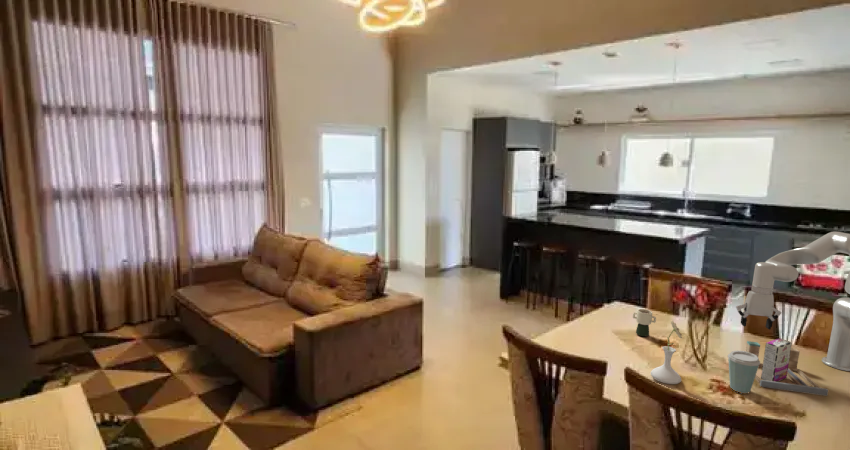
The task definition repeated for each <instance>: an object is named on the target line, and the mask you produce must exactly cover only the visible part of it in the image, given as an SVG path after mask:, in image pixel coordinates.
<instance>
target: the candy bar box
mask: <svg viewBox="0 0 850 450" xmlns="http://www.w3.org/2000/svg"><path fill="white" fill-rule="evenodd" d="M792 343H793V341H790V340H787V339H783V338H776V339H774V340H770V341H767V342H765V347H764V355H763V362H762V364H763V367H761V375H760V379H761V380H768V381H775V382H780V381H783V380H784V379H787V377H788V376H787V371H788V365H789V358H790V352H791V348H792V345H793V344H792Z"/></svg>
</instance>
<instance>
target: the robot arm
mask: <svg viewBox="0 0 850 450" xmlns="http://www.w3.org/2000/svg"><path fill="white" fill-rule="evenodd" d="M838 253H842V254H847V255H848V256H849V257H850V233H848V232H842V231H830V232H828V233H826V234H824V235H822V236H820V237H819V238H817V239H815V240H813V241H812V242H810V243H808V244H806V245H804V246H803V247H798V248H793V249H789V250H786V251H782V252H779V253H777V254H775V255H773V256H772V257H770V258H768V259H767V260H765V262H764V261H761V262H760V261H759V262H757V263H755V265H754V271H753V278H752V284H751V290H749V291H748V293H747V295H746V298H745V300H744V303H742V304H740V305H736V306H735V308H736V311H737V313H738V314H739V315H740V316H741V317H740V324H741V325H742V326H743V327H746V326H747V322H748V318H747V317H748V316H750V315H751V316H761V317H767V318H766V323H765V328H766V329H767V330H771V328H772V327H773V322H774V321H776V320H777V319H778V318H779V316H780V315H782V311H780V310H779V309H778V308H775V306H774V305H775V300H774V299H775V298H774V293H776V292H777V289H776V288H774V285H775V281H779V282H784V283H785V282H786V283H790V282H794V281H796V279H798V278H799V271H798V269H797V268H796V267H795V266H797V265H813V264H815V265H816V264H820V263H822V262H823V261H825V260H827V259H828V258H830V257H832V256H835V255H836V254H838ZM847 275H848V276H847V278H846V280H845V284H844V290H845V292H846V293H847V294H849V295H850V270H849V272H848V274H847ZM742 309H743V311H742ZM774 312H775V313H774ZM832 317H833V318H832V320H833V321H832V327H831V333H830V338H829V344H828V350H827V353H826V354H827V355H826V356H824V357H821V362H822V363H823V364H825V365H826V366H828V367H830V368H834V369H836V370H840V371H844V372H845V371H846V372H850V297H840V298H838V299H836V300H835V301H834V303H833V305H832Z"/></svg>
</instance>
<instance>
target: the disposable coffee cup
mask: <svg viewBox="0 0 850 450" xmlns="http://www.w3.org/2000/svg"><path fill="white" fill-rule="evenodd" d="M727 358H728V359H727V360H728V375H729V386H730V389H731V388H732V389H733V390H735V391H738V392H741V393H740V394H742V393H748V392H749V393H750V392H751V390H752V387H753V385H754V381H755V380H756V379H755V376H756V375H757V372H758V369H759V368H760V367H759V364H760V363H761V361H760V358H759V356H758V357H757V355H754V354H752V353H749V352H746V350H733V351H730V353H728V355H727ZM732 389H731V390H732ZM733 390H732V391H733ZM735 391H734V392H735ZM738 392H737V393H738ZM749 393H748V394H749Z"/></svg>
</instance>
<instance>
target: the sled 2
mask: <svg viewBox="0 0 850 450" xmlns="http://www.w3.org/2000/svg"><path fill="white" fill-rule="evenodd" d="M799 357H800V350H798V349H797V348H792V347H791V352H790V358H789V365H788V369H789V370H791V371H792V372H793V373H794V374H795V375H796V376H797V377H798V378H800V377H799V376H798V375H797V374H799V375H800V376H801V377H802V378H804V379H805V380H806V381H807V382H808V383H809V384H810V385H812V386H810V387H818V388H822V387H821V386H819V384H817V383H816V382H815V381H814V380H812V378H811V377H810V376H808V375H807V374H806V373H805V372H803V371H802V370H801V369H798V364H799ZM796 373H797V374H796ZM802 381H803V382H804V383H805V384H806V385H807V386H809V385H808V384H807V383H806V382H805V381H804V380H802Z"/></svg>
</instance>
